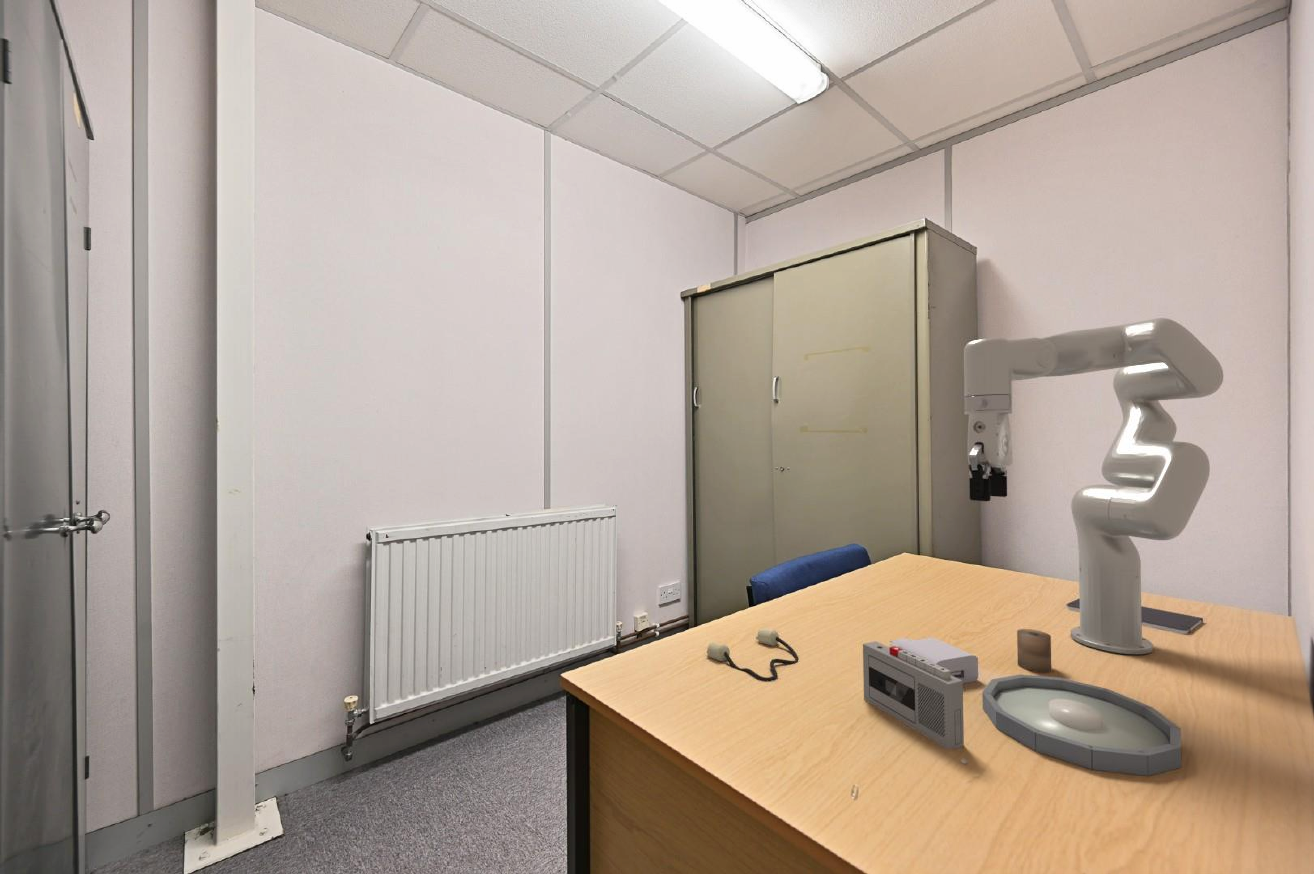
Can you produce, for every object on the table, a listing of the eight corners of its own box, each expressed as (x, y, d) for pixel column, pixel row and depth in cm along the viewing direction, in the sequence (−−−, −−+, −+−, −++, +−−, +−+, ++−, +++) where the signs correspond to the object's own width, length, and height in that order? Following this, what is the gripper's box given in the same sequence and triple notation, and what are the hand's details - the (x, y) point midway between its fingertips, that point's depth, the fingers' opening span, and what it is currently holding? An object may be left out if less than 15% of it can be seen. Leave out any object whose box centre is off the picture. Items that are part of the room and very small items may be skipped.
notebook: (1203, 625, 118) (1085, 601, 136) (1202, 617, 118) (1085, 595, 136) (1186, 637, 111) (1064, 611, 129) (1186, 630, 111) (1064, 604, 129)
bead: (1020, 658, 101) (1020, 626, 101) (1053, 666, 98) (1052, 633, 98) (1015, 667, 97) (1014, 633, 97) (1048, 675, 94) (1048, 640, 94)
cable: (824, 664, 101) (823, 646, 101) (761, 688, 92) (761, 668, 92) (764, 639, 114) (764, 623, 114) (704, 658, 105) (703, 640, 105)
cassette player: (863, 699, 87) (862, 637, 87) (876, 696, 88) (875, 634, 88) (949, 751, 72) (948, 676, 72) (963, 746, 73) (962, 673, 73)
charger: (913, 649, 107) (978, 681, 92) (874, 655, 104) (935, 690, 90) (912, 625, 107) (978, 654, 92) (874, 631, 104) (935, 661, 90)
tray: (1003, 678, 93) (1003, 663, 93) (1180, 723, 78) (1180, 706, 78) (968, 729, 77) (967, 711, 77) (1181, 798, 62) (1181, 776, 62)
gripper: (996, 403, 91) (997, 504, 91) (1024, 406, 103) (1025, 496, 103) (948, 405, 97) (949, 500, 97) (980, 408, 108) (981, 493, 108)
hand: (988, 498), depth 100 cm, fingers open, 9 cm apart
